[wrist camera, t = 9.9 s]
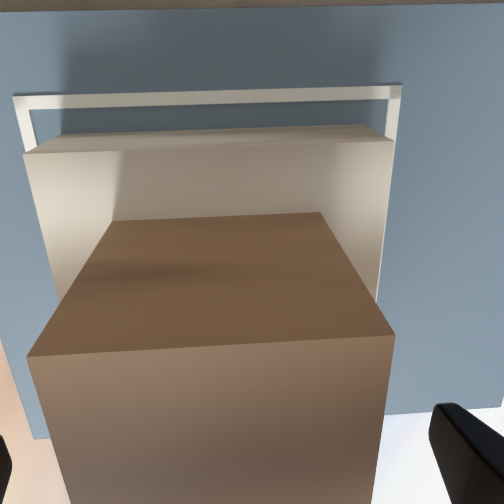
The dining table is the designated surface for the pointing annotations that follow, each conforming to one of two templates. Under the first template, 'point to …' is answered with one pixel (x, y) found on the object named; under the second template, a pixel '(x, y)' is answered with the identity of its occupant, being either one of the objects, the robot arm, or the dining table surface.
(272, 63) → the board
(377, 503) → the dining table surface
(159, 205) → the plinth
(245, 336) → the walnut cube
